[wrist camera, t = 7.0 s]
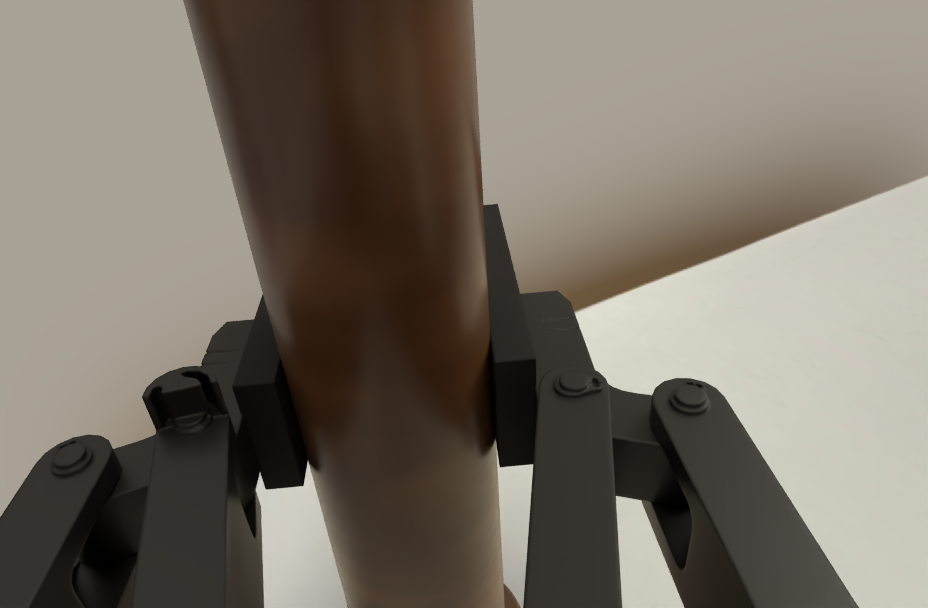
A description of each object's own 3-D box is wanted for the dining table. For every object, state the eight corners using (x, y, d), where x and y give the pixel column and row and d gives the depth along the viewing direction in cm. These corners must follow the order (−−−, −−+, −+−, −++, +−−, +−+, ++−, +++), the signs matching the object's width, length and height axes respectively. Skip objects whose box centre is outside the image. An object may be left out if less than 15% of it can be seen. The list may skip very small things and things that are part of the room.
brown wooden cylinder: (338, 768, 17) (55, 1, 7) (352, 584, 22) (187, -55, 12) (542, 747, 17) (542, -39, 7) (515, 568, 22) (493, -79, 12)
